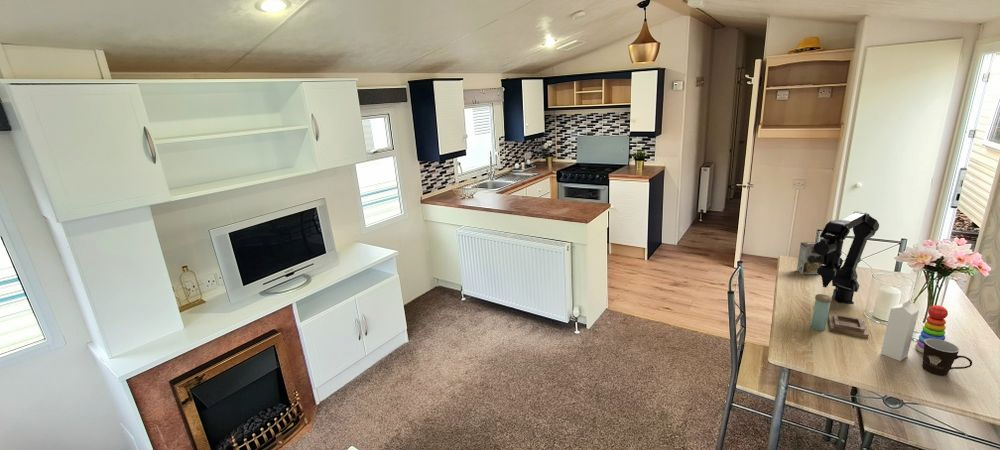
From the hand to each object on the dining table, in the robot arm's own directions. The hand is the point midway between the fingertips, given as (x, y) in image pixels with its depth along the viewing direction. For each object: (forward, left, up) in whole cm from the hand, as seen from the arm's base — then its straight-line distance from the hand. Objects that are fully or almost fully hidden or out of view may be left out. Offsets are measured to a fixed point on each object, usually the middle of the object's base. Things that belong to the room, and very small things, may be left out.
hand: (826, 283), depth 192 cm
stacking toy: (-25, +28, -13) cm, 40 cm away
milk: (-12, +33, -13) cm, 37 cm away
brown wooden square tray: (-4, +15, -13) cm, 20 cm away
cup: (+7, +17, -13) cm, 22 cm away
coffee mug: (-21, +42, -13) cm, 49 cm away
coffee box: (-8, -44, -13) cm, 47 cm away
